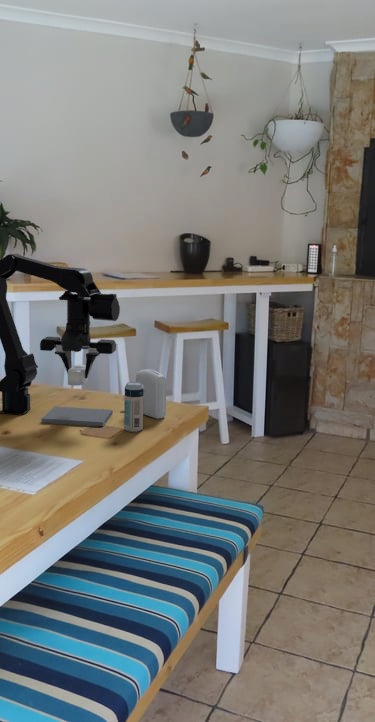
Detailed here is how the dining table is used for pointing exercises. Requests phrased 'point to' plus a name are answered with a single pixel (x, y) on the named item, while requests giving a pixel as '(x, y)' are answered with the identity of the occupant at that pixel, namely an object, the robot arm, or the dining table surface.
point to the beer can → (133, 407)
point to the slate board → (77, 416)
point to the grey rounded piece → (77, 375)
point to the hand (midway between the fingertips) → (78, 377)
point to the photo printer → (153, 393)
